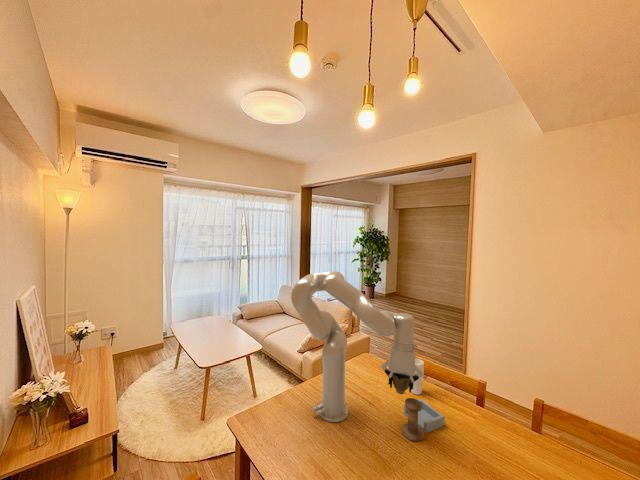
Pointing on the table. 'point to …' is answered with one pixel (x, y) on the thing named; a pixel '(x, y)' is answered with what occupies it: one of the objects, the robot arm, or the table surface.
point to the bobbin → (412, 421)
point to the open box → (428, 417)
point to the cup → (400, 382)
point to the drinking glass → (418, 383)
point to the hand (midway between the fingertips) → (400, 388)
